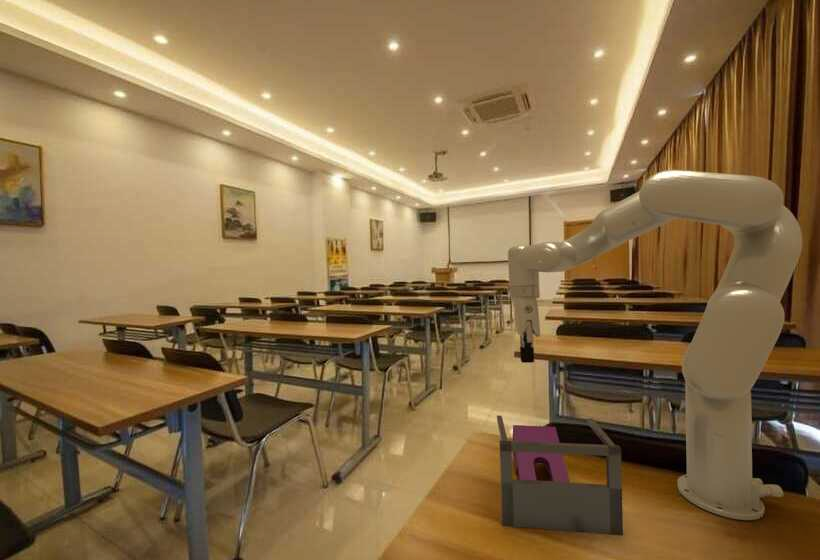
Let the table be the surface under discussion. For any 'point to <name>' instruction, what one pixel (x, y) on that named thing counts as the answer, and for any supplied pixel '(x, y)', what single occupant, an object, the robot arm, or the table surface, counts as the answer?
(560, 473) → the mounting bracket
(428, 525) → the table surface
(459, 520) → the table surface
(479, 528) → the table surface
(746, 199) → the robot arm
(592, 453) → the rack
